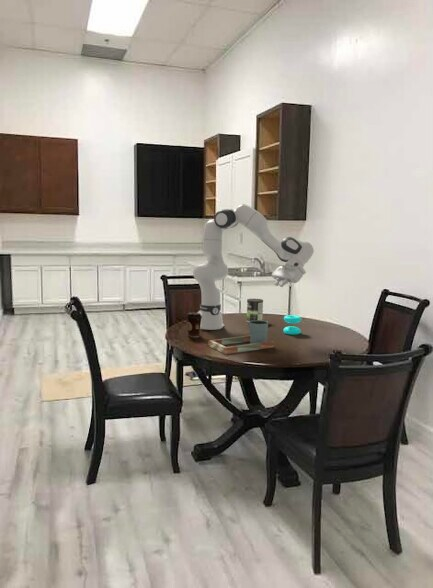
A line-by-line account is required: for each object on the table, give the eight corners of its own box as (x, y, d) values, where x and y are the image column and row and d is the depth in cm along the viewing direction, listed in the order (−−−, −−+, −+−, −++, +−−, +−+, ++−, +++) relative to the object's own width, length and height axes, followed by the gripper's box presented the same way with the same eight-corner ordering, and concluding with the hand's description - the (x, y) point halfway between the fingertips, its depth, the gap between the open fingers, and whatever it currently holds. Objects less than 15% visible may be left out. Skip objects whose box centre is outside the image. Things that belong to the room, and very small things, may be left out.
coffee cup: (187, 338, 267) (187, 315, 265) (184, 334, 275) (184, 312, 273) (203, 337, 269) (203, 314, 267) (199, 334, 277) (199, 311, 275)
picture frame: (208, 346, 251) (208, 340, 251) (255, 339, 265) (255, 334, 265) (225, 354, 237) (225, 348, 236) (273, 347, 251) (274, 341, 250)
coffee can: (250, 323, 307) (250, 301, 305) (244, 320, 317) (244, 298, 315) (265, 322, 310) (265, 300, 308) (258, 319, 320) (259, 298, 318)
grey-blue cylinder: (266, 347, 250) (267, 324, 248) (247, 346, 252) (247, 323, 250) (268, 342, 260) (269, 320, 258) (249, 341, 262) (250, 319, 260)
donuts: (303, 315, 283) (298, 318, 274) (303, 332, 284) (297, 336, 276) (287, 314, 287) (281, 316, 279) (286, 330, 289) (280, 334, 280)
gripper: (278, 261, 276) (263, 279, 272) (301, 264, 258) (286, 284, 255) (284, 269, 279) (270, 287, 275) (308, 272, 261) (292, 291, 258)
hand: (278, 285), depth 265 cm, fingers open, 3 cm apart
